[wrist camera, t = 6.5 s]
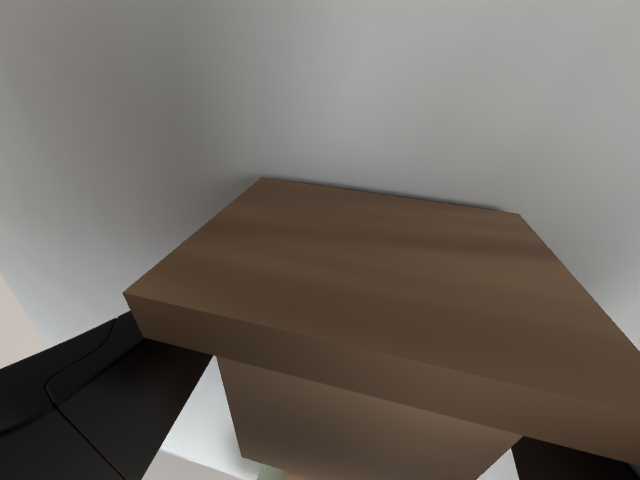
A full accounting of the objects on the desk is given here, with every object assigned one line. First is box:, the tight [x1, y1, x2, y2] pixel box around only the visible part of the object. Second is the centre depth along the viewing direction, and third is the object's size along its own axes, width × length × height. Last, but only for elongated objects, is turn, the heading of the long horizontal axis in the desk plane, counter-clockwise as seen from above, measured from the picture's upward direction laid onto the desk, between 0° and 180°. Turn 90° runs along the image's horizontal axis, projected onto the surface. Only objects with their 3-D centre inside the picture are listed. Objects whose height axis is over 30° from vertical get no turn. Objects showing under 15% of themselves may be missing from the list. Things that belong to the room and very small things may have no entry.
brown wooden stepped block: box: [123, 177, 640, 480], centre depth 10 cm, size 18×7×5 cm, turn 176°
